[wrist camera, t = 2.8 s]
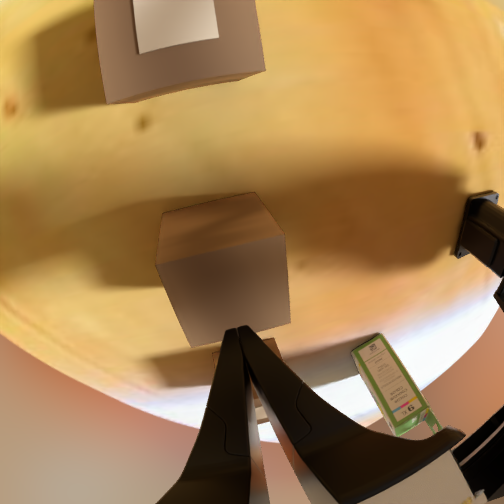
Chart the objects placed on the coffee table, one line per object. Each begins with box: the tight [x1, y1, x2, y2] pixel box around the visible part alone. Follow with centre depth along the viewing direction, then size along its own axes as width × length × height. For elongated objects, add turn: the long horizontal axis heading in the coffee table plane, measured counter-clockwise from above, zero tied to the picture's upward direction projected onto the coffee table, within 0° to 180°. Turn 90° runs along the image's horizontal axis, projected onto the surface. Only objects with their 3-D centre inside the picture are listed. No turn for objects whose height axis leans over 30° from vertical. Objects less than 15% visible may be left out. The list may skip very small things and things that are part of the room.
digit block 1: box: [94, 0, 266, 104], centre depth 8 cm, size 5×5×5 cm
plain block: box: [155, 192, 291, 348], centre depth 14 cm, size 5×5×5 cm
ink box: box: [351, 333, 443, 437], centre depth 21 cm, size 7×4×13 cm, turn 29°
